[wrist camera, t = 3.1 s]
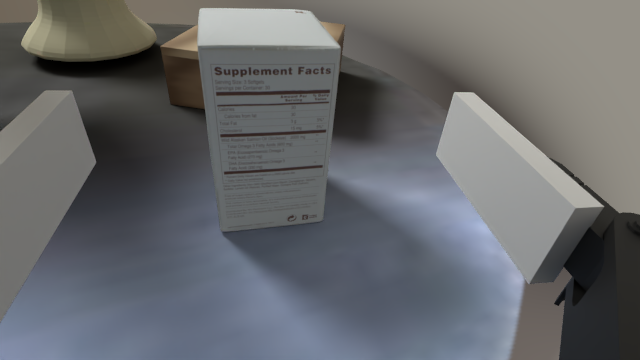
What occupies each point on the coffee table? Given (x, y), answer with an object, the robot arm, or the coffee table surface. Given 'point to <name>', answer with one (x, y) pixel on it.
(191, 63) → the walnut stand
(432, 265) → the coffee table surface
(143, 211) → the coffee table surface
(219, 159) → the supplement box
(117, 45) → the handbell
